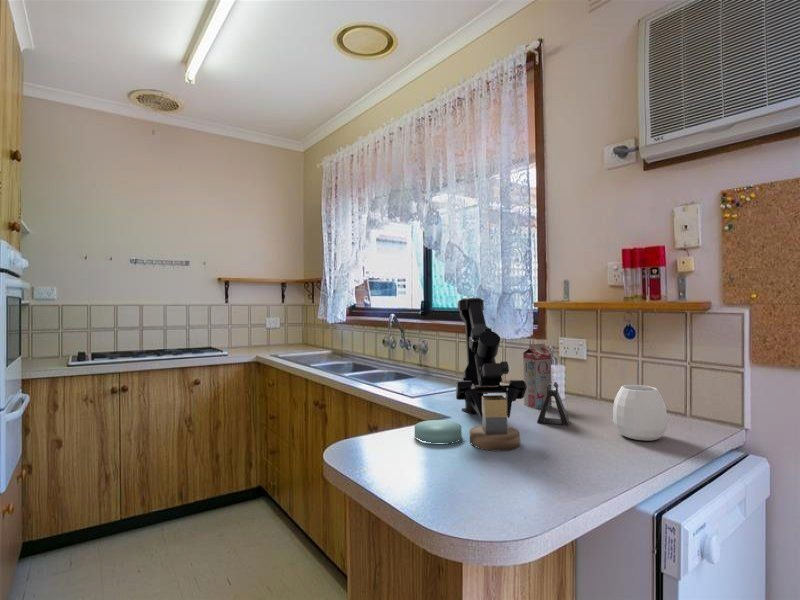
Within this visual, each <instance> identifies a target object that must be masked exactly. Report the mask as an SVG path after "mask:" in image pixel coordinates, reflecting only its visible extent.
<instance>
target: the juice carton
mask: <svg viewBox="0 0 800 600" xmlns="http://www.w3.org/2000/svg"><path fill="white" fill-rule="evenodd" d="M522 354H523V358H522V360H523V365H522V366H523V381H525V383H526V386H527V389H526V392H525V395H524V398H523V406H526V405H527V407H529V408H533V409H534V410H535V409H536V410H537V409H538V410H539V409H542V407H543V404H544V402H545V399H546V396H547V387H548V384H549V383H550V382H551V381H552V353H551V352H550V351H549V350H548V349H547V348H546V345H545V343H543V342H542V343H530V344H528V349H526V350H525V351H524V352H523V353H522ZM549 387H550V389H551V390H552V385H551V386H549ZM552 405H553V404H552V396H551V397H550V399H549V403H548V407H547V408H552V407H553V406H552Z"/></svg>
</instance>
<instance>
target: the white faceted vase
mask: <svg viewBox="0 0 800 600" xmlns="http://www.w3.org/2000/svg"><path fill="white" fill-rule="evenodd" d="M612 420H613V424H614V427H615V429H616V430H617V432H619V433H620V434H621V435H622V436H624V437H625V438H628V439H631V440H636V441H637V440H638V441H657V440H658V439H660V438H661V437H663V436H664V435H665V433H666V432H667V431H666V430H667V428H668V413H667V407H666V403H665V401H664V398H663V396H662V394H661V393H660V391H659V390H658V388H656V387H653V386H650V385H643V384H624V385H621V387H620V389H619V390H618V392H617V394H616V395H615V398H614V402H613V409H612Z"/></svg>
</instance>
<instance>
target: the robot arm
mask: <svg viewBox="0 0 800 600" xmlns="http://www.w3.org/2000/svg"><path fill="white" fill-rule="evenodd" d="M484 301H485V300H484V299H482V298H480V297H464V298H463V297H462V298H461V299H460V300H458V302H457V310H458V312H459V317H460V318H461V320H462V321H463V323H464V327H465V329H464V330H465V342H466V343H465V344H466V345H465V347H466V361H467V365H466V367H465V368H464V370H463V374H462V377H461V380H458V381H457V383H456V386H455V396H456V397H455V398H456V400H458V401H460V400H461V401H462V400H464V401H465V407H463V408H461V411H464V412H465V413H468V414H470V415H475V414H477V416H478V417H479V418H481V419H482V396H484V395H488V394H505V397H504V398H505V399H506V400H507V419H509V418H510V416H511V411H512V403H513V402H516V401H517V400H521V399H524V395H525V392H526V389H527V386H526V383H525V381H524V379H510V380H509V385H508V384H507V385H505V384H504V385H501V383H502V381H503V379H502V378H503V375H508V374H509V372H510V369H509V364H508V361H500V362H496V357H497V355H498V351H499V348H500V347H499V346H500V343H501V336H499V334H498V333H496V332H495V331H492V328H490V327H488V326H487V323H486V320H485V316H484V312H483V311H485V308H484V307H485V306H484V303H485V302H484Z"/></svg>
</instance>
